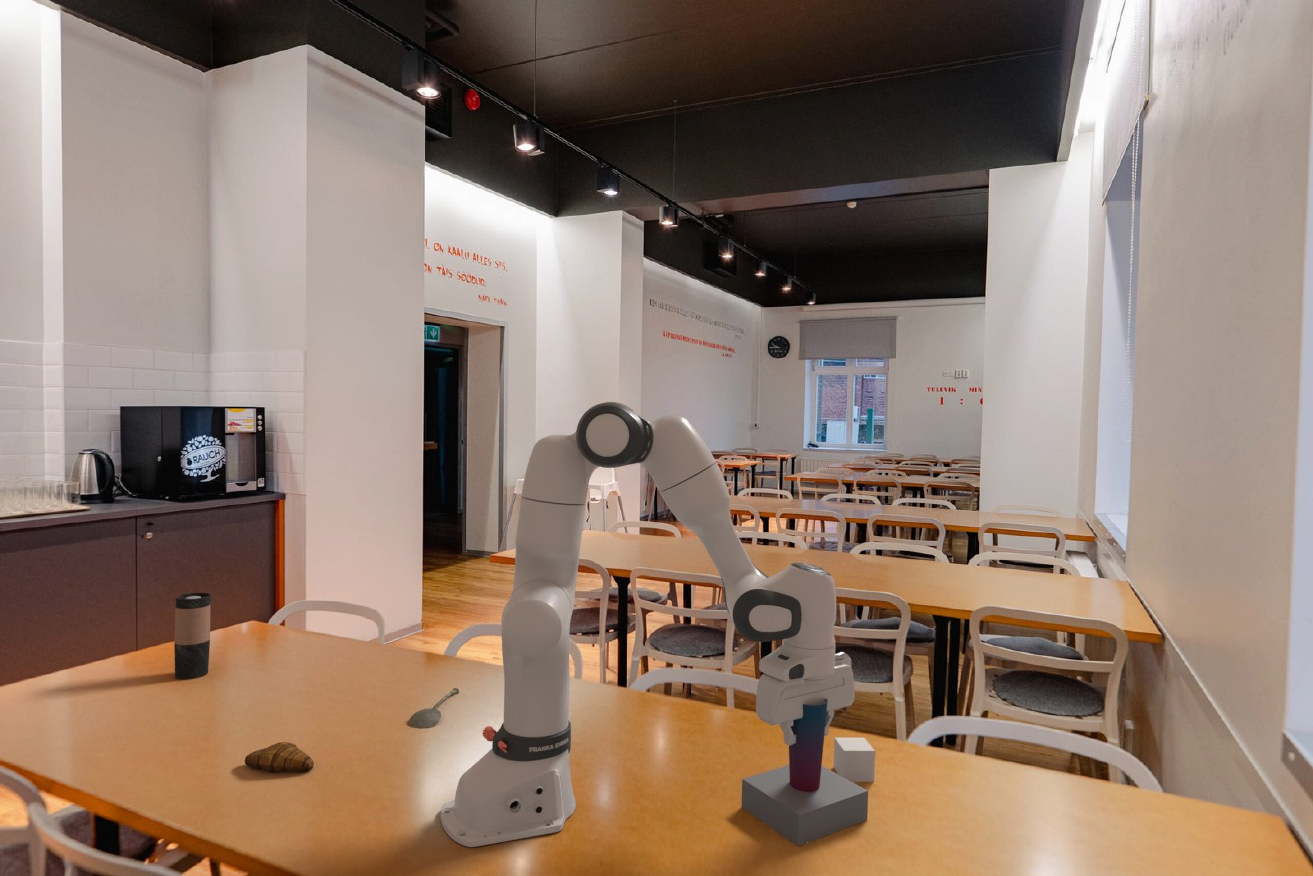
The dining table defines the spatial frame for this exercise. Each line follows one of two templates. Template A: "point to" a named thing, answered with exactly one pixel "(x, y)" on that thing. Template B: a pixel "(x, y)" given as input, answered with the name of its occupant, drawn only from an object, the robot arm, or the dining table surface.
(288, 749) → the croissant
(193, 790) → the dining table surface
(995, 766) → the dining table surface
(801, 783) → the cup
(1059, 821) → the dining table surface
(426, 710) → the soupspoon
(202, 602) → the travel mug
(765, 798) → the plinth
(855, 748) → the white cube
